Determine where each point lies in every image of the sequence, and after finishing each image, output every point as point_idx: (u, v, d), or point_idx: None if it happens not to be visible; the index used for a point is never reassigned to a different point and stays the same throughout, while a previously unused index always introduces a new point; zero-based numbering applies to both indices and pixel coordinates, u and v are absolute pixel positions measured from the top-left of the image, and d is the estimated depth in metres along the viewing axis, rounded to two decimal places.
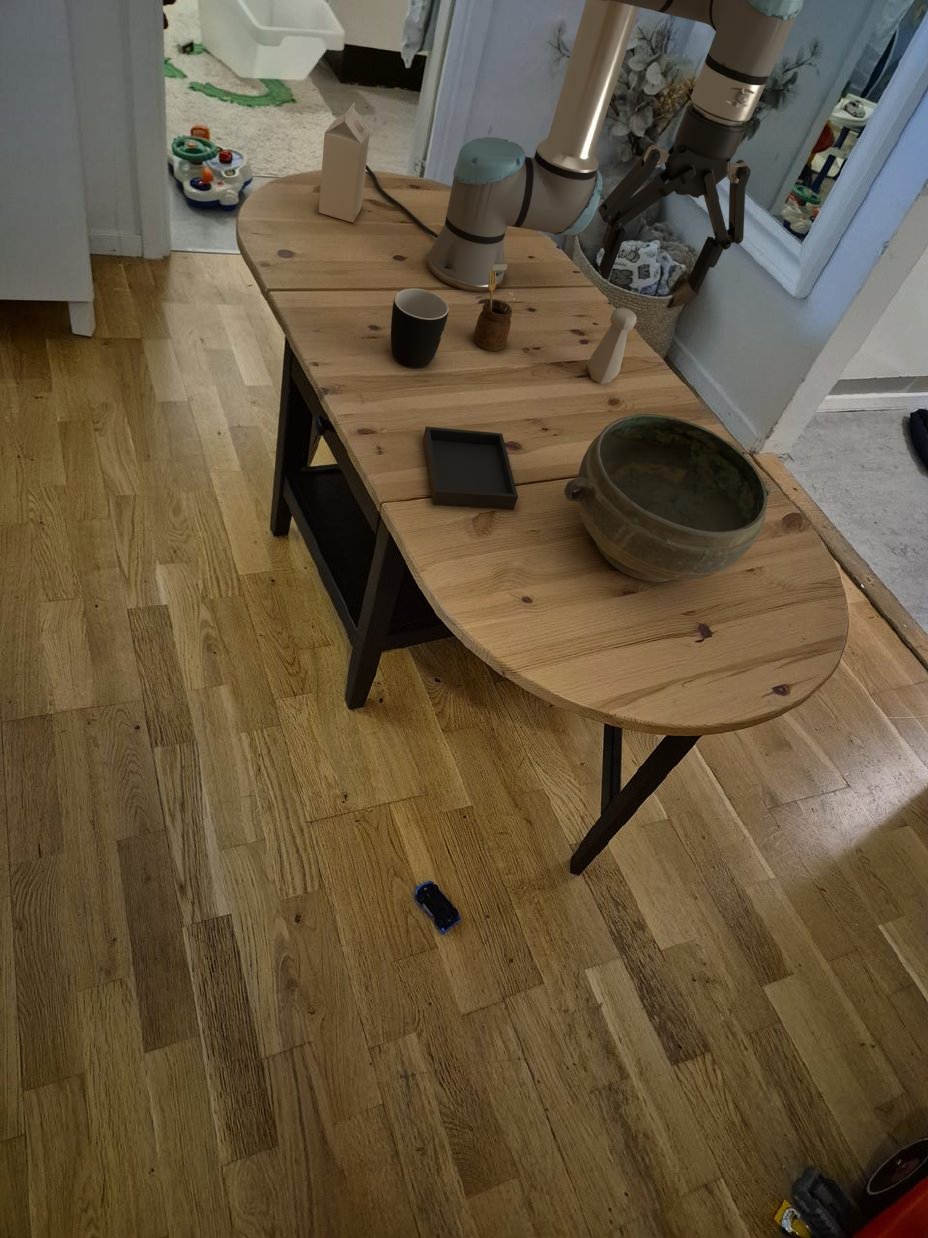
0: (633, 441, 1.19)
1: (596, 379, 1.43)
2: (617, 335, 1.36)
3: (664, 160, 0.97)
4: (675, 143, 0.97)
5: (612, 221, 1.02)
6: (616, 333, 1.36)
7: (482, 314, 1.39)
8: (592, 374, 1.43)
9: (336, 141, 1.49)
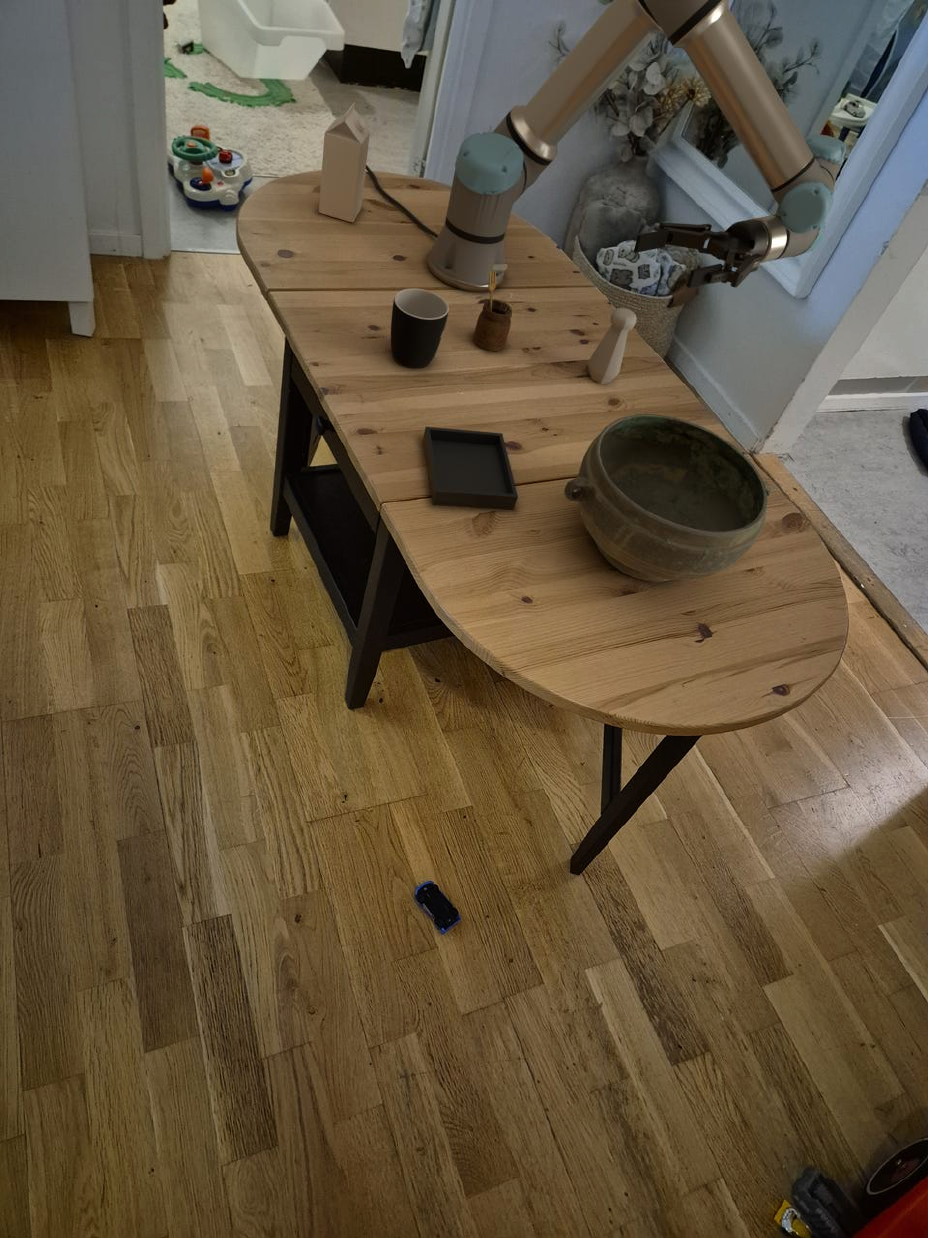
0: (633, 441, 1.19)
1: (596, 379, 1.43)
2: (617, 335, 1.36)
3: None
4: (751, 254, 1.38)
5: None
6: (616, 333, 1.36)
7: (482, 314, 1.39)
8: (592, 374, 1.43)
9: (336, 141, 1.49)
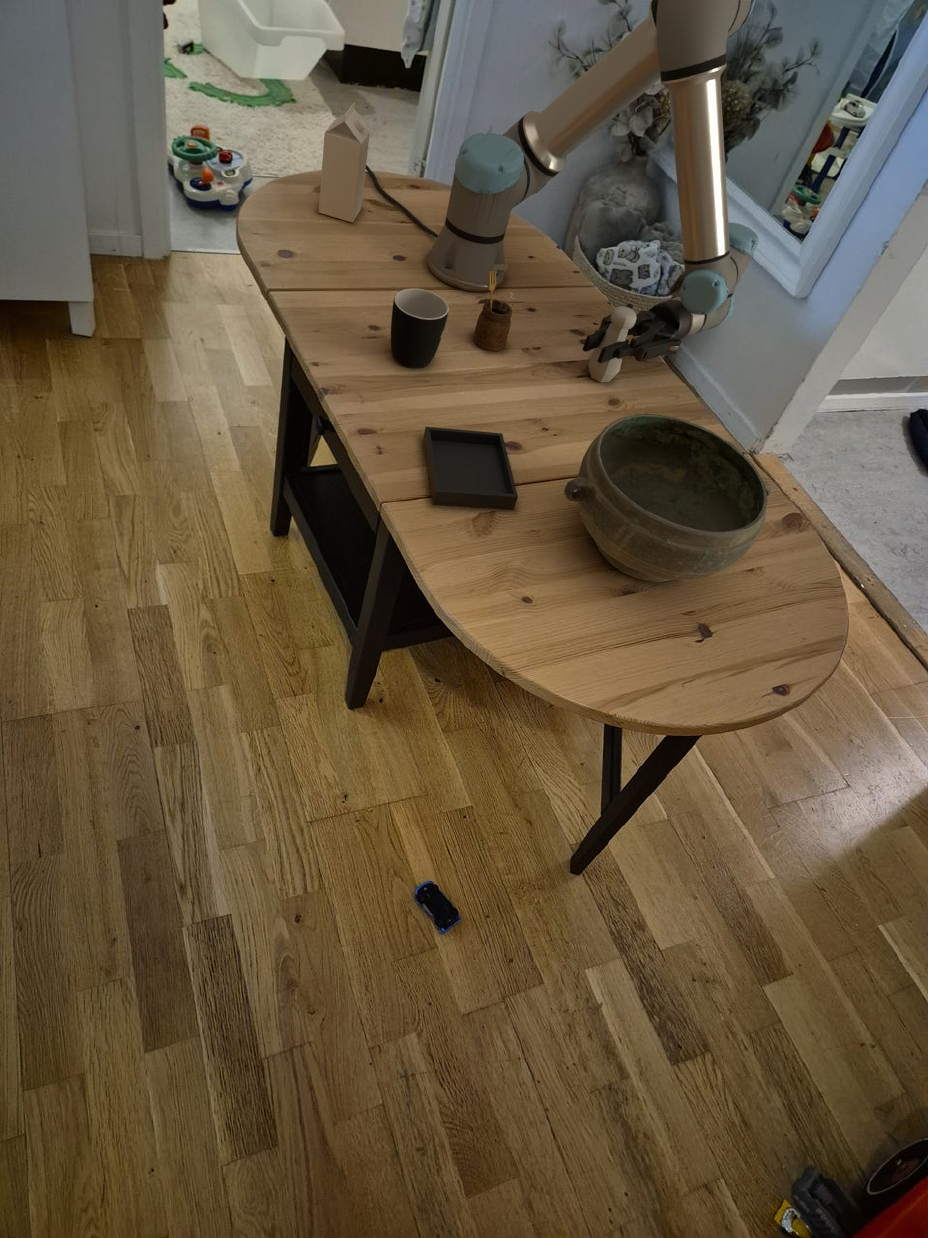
0: (633, 441, 1.19)
1: (596, 377, 1.43)
2: (617, 333, 1.36)
3: None
4: (676, 335, 1.45)
5: (631, 355, 1.39)
6: (616, 332, 1.36)
7: (482, 314, 1.39)
8: (592, 372, 1.42)
9: (336, 141, 1.49)
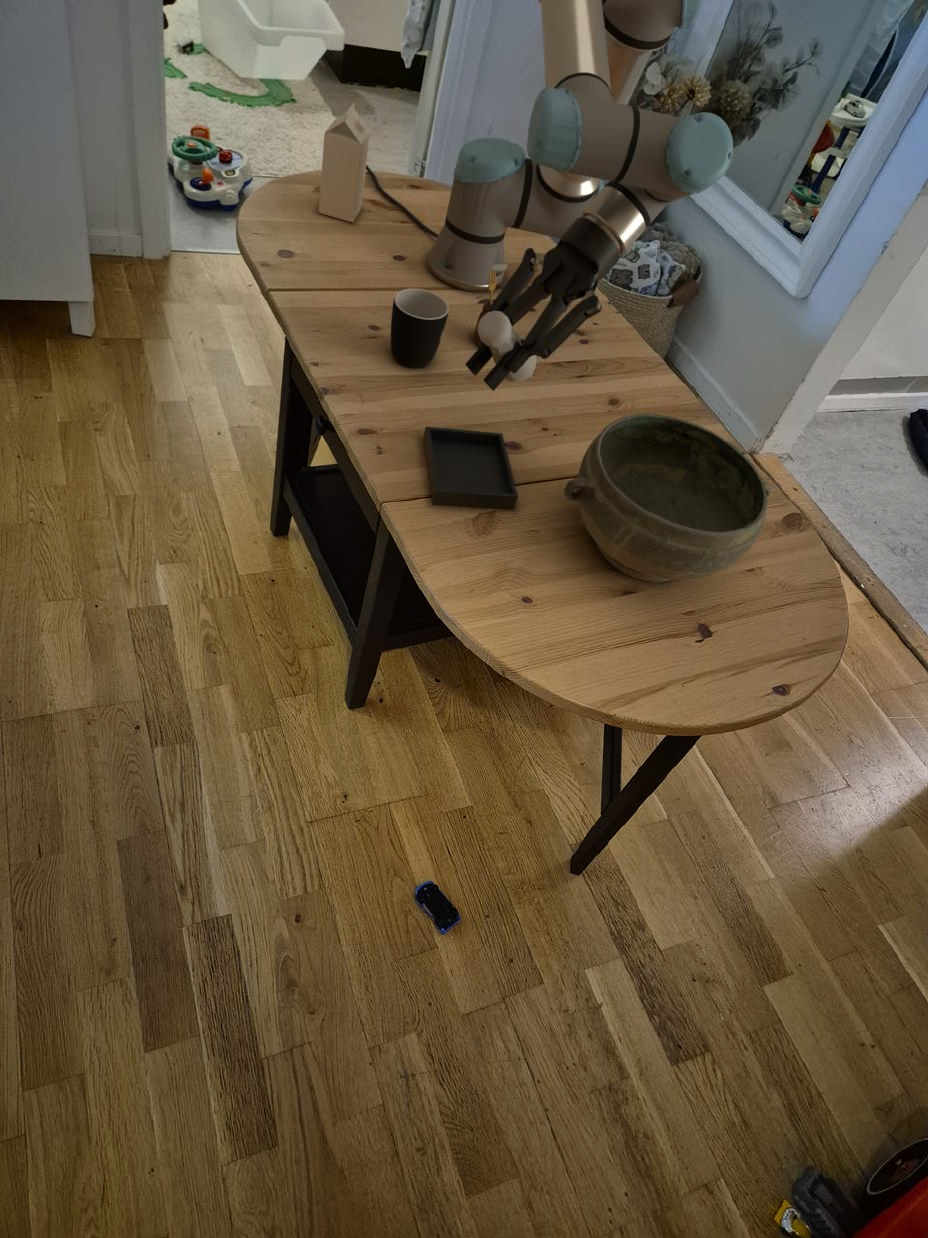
0: (633, 441, 1.19)
1: None
2: (496, 348, 1.03)
3: None
4: (599, 276, 1.02)
5: None
6: (494, 347, 1.03)
7: (482, 314, 1.39)
8: None
9: (336, 141, 1.49)
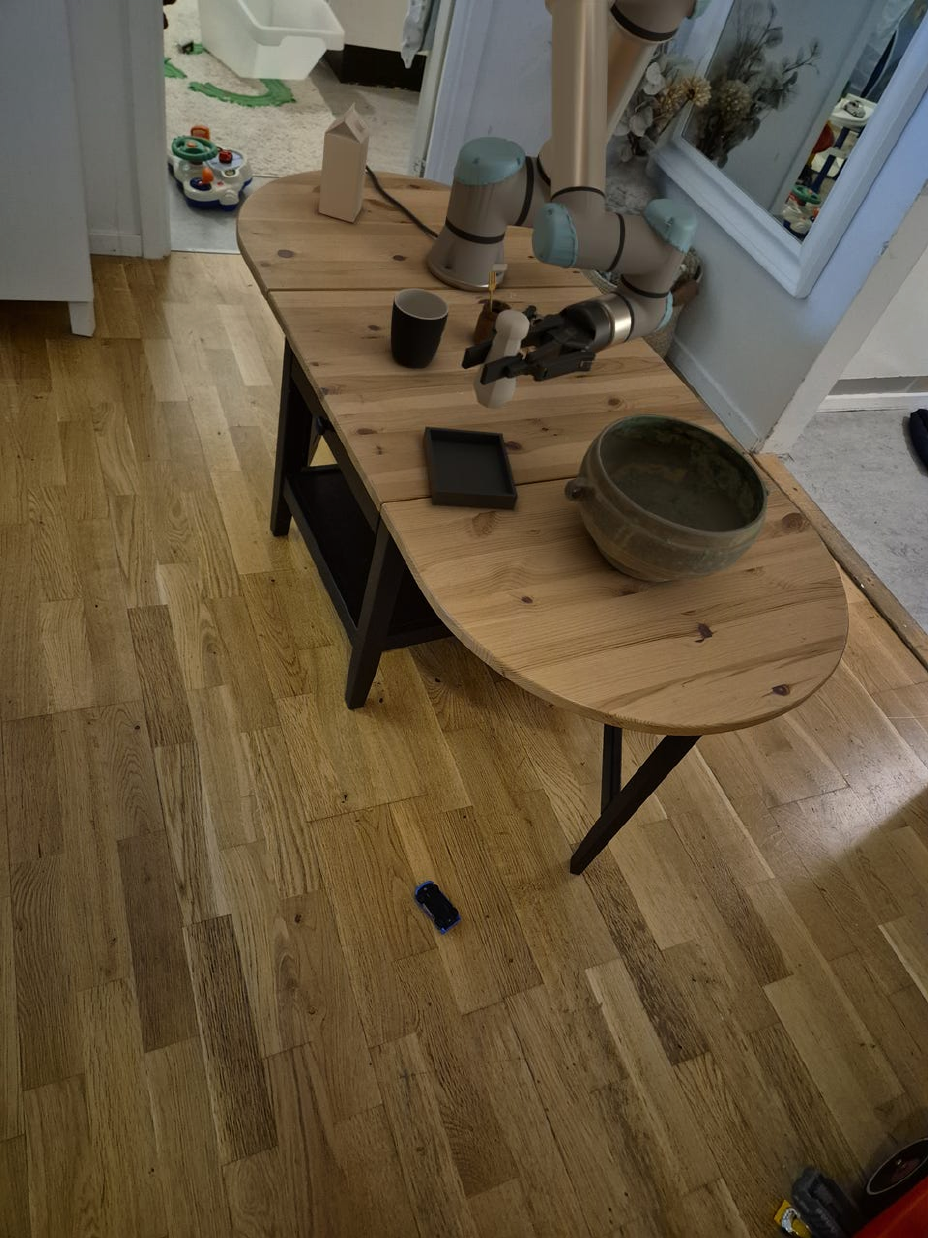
0: (633, 441, 1.19)
1: (482, 402, 1.09)
2: (503, 345, 1.03)
3: None
4: (591, 346, 1.12)
5: None
6: (502, 344, 1.03)
7: (482, 314, 1.39)
8: (477, 396, 1.09)
9: (336, 141, 1.49)
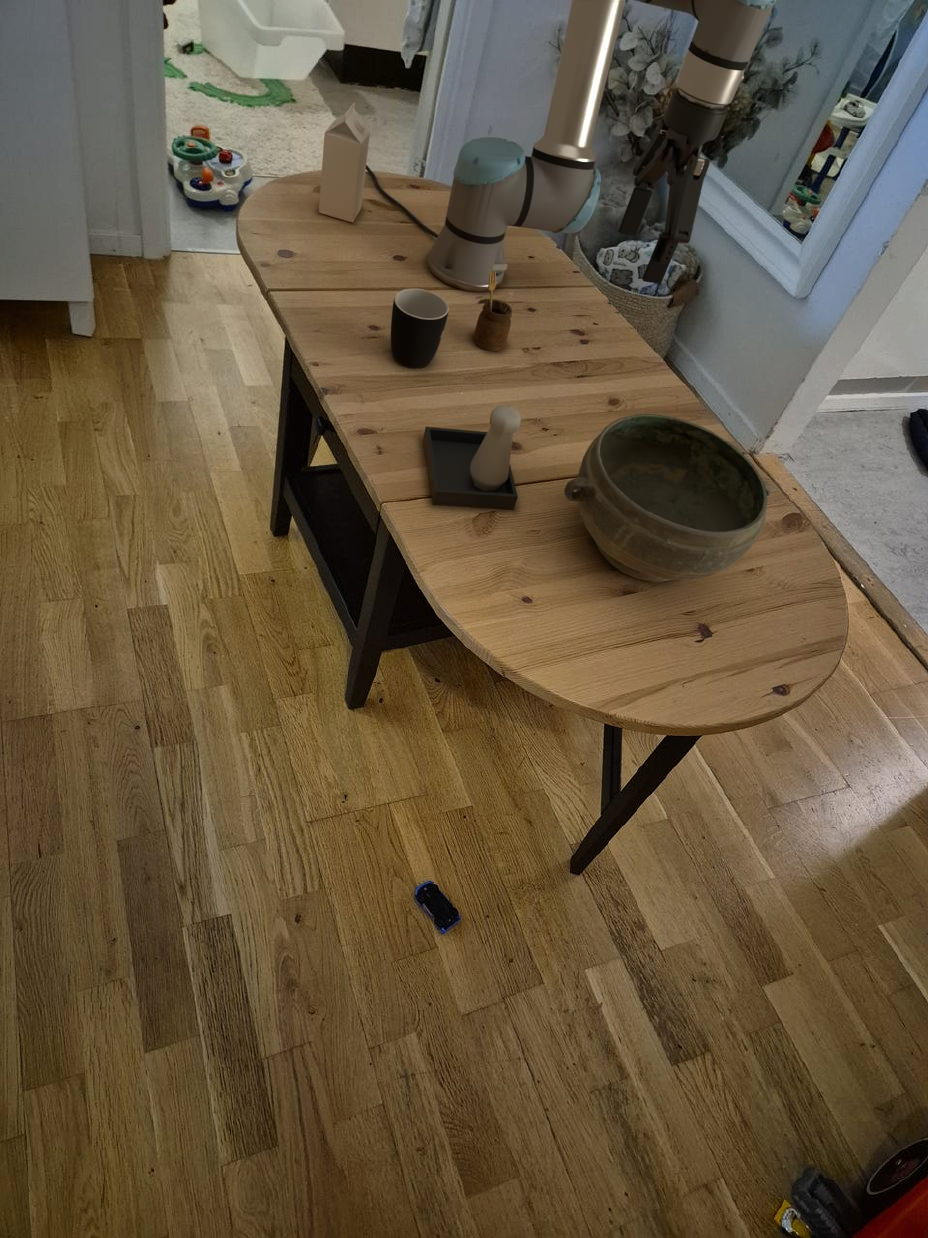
0: (633, 441, 1.19)
1: (479, 486, 1.17)
2: (498, 438, 1.10)
3: None
4: (696, 143, 1.02)
5: None
6: (496, 437, 1.10)
7: (482, 314, 1.39)
8: (474, 480, 1.17)
9: (336, 141, 1.49)
